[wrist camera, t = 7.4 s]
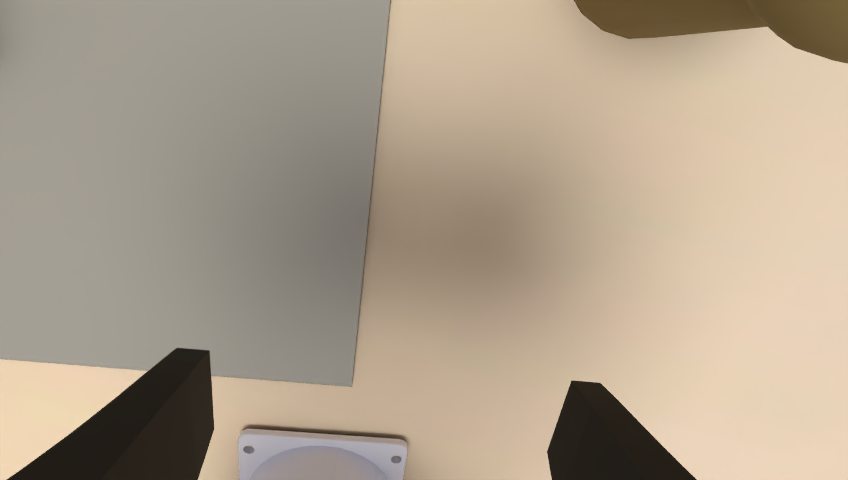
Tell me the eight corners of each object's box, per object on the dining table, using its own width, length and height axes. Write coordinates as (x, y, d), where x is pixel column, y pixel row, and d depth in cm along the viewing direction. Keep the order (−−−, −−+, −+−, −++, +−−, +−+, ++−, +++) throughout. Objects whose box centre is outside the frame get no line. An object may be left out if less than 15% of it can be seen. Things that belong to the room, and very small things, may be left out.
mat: (351, 383, 23) (351, 386, 23) (-127, 345, 22) (-131, 348, 21) (405, -151, 15) (405, -152, 15) (-390, -295, 13) (-402, -298, 13)
